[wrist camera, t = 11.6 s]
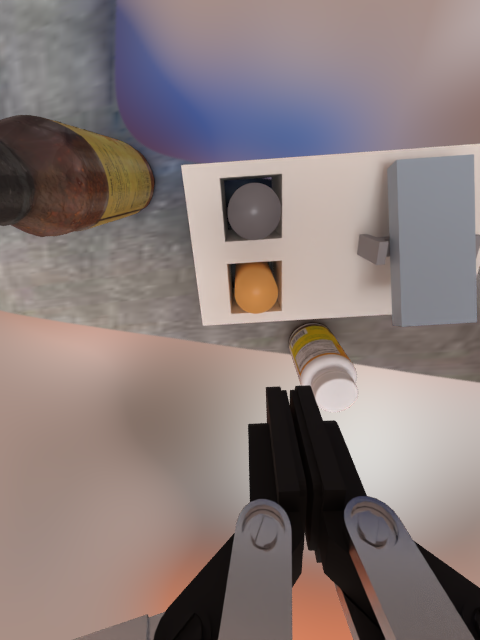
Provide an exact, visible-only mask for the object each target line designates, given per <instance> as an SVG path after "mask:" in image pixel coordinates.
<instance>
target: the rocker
mask: <svg viewBox="0 0 480 640" xmlns="http://www.w3.org/2000/svg"><path fill="white" fill-rule="evenodd" d="M387 179H388V209H389V239H390V243H388V248H387V254H386V257H390V268H391V298H392V325H393V326H401V327H405V326H422V325H439V324H456V323H473V322H477V292H476V238H475V183H474V154H471V155H457V156H443V157H429V158H415V159H401V160H396V161H395V162H394V163H393V164H392V165H391V166H390V167H389V168H388V169H387Z"/></svg>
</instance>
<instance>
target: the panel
mask: <svg viewBox="0 0 480 640" xmlns="http://www.w3.org/2000/svg"><path fill="white" fill-rule="evenodd" d="M471 154H474V183H475V238H476V276H477V273H478V270H479V267H480V144H469V145H455V146H441V147H427V148H414V149H400V150H385V151H373V152H372V151H371V152H358V153H345V154H330V155H317V156H302V157H288V158H274V159H262V160H247V161H233V162H219V163H205V164H191V165H181V168H182V175H183V183H184V190H185V197H186V205H187V212H188V219H189V227H190V234H191V241H192V249H193V256H194V263H195V271H196V278H197V286H198V293H199V300H200V308H201V315H202V322H203V326H204V325H221V324H237V323H254V322H271V321H287V320H304V319H321V318H338V317H354V316H371V315H388V314H392V298H391V268H390V257H386V254H387V248H388V243H390V239H389V209H388V179H387V169H388V168H389V167H390V166H391V165H392V164H393V163H394V162H395V161H396V160H401V159H415V158H429V157H443V156H457V155H471ZM267 177H272V190H273V191H274V192H275V193H276V195H277V196H278V198H279V201H280V205H281V217H280V221H279V223H278V225H277V227H276V229H275V230H274V231H273V232H272V233H271V234H270V235H268V236H267V237H265V238H263V239H259V240H248V239H245V238H243V237H241V236H239V235H238V234H237V233H236V232H235V231H234V230H228V225H227V212H226V200H225V187H224V181H225V180H239V179H253V178H267ZM266 261H273V277H274V280H275V282H276V284H277V287H278V298H277V301H276V303H275V304H274V305H273V307H272V308H270V309H269V310H268V311H266V312H263V313H258V314H253V313H249V312H246V311H244V310H243V309H242V308H240V306H239V305H238V304H237V302H236V299H235V289H232V276H231V264H235V263H250V262H266Z"/></svg>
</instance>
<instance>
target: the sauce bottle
mask: <svg viewBox="0 0 480 640" xmlns="http://www.w3.org/2000/svg"><path fill="white" fill-rule="evenodd" d="M153 190H154V177H153V173H152V171H151V168H150V166H149V164H148V162H147V161H146V159H145V158H144V156H143V155H142V154H141V153H139V151H137V150H135V149H134V148H132V147H131V146H130V145H128V144H126V143H124V142H122V141H120V140H117V139H113V138H110V137H107V136H103V135H100V134H97V133H94V132H91V131H87V130H85V129H79V128H77V127H73V126H70V125H66V124H63V123H61V122H57V121H53V120H49V119H46V118H42V117H37V116H31V115H18V116H12V117H9V118H5V119H2V120H0V225H1V226H6V225H12V226H14V227H16V228H18V229H20V230H22V231H24V232H27V233H29V234H33V235H36V236H40V237H45V236H58V235H63V234H67V233H70V232H73V231H82V230H86V229H89V228H93V227H96V226H99V225H102V224H105V223H108V222H112V221H115V220H118V219H121V218H124V217H127V216H130V215H133V214H136V213H138V212H139V211H140V210H141V209H143V208H145V207H146V206H147V205H148V204H149V202H150V200H151V198H152V196H153Z"/></svg>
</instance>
